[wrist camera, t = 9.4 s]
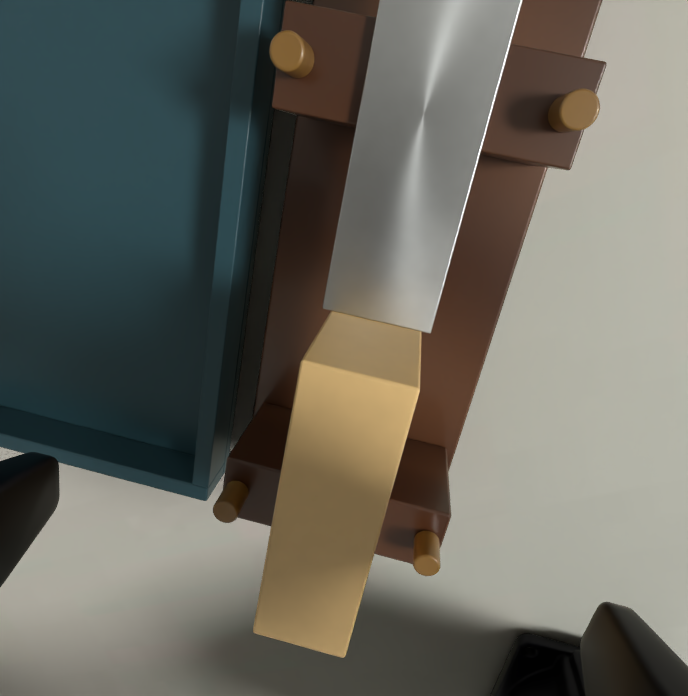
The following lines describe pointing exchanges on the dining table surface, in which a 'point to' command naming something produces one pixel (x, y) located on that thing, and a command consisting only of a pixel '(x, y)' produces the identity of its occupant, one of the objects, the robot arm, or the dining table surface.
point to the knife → (379, 306)
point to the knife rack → (466, 263)
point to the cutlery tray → (130, 228)
